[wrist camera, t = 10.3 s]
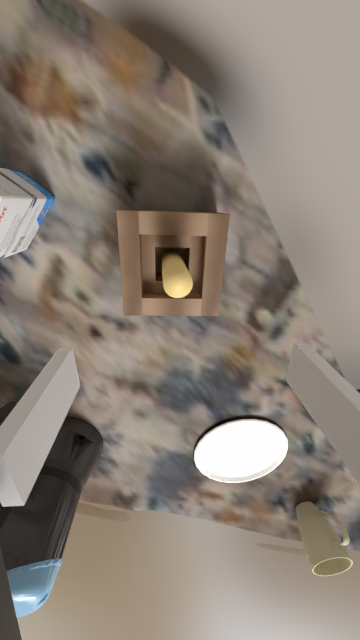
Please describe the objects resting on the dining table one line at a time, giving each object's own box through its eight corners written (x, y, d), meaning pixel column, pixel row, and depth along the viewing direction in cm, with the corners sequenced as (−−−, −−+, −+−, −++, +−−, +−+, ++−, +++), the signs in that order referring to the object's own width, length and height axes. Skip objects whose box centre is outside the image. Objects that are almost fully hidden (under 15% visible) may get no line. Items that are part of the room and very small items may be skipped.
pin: (161, 269, 34) (163, 298, 23) (160, 249, 33) (162, 269, 22) (181, 269, 34) (192, 297, 23) (181, 248, 33) (192, 268, 22)
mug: (325, 510, 66) (356, 570, 55) (289, 518, 67) (313, 579, 56) (324, 488, 61) (358, 549, 50) (285, 497, 62) (310, 558, 51)
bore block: (131, 296, 36) (123, 315, 30) (126, 209, 31) (116, 210, 25) (209, 297, 37) (218, 316, 31) (217, 212, 32) (229, 214, 26)
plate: (179, 433, 50) (179, 438, 49) (276, 402, 48) (279, 407, 47) (209, 487, 59) (210, 492, 58) (293, 463, 57) (295, 468, 56)
